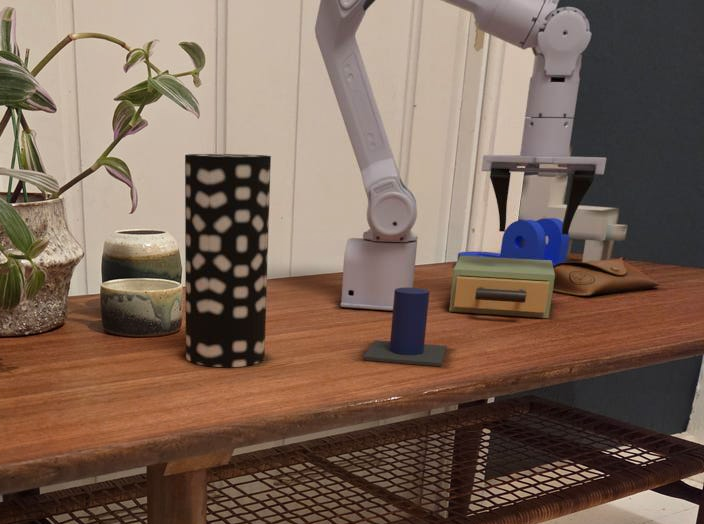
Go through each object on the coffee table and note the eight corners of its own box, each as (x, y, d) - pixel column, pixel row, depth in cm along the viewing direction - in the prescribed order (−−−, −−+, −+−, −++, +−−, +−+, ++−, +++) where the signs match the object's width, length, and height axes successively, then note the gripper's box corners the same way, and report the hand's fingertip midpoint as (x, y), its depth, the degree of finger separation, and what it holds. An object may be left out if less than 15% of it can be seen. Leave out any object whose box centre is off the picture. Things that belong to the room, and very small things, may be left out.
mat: (363, 360, 93) (363, 356, 92) (374, 343, 100) (374, 340, 100) (440, 366, 90) (441, 363, 90) (446, 349, 98) (446, 345, 97)
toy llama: (610, 272, 152) (631, 148, 144) (513, 261, 162) (528, 145, 155) (624, 267, 157) (645, 147, 150) (529, 257, 168) (545, 145, 160)
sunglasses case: (590, 294, 127) (577, 251, 128) (552, 312, 133) (539, 270, 134) (664, 285, 136) (651, 244, 137) (625, 302, 142) (613, 263, 143)
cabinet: (548, 318, 114) (555, 274, 112) (449, 311, 118) (453, 269, 115) (545, 300, 126) (551, 260, 124) (455, 294, 130) (459, 255, 127)
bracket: (563, 275, 147) (572, 219, 144) (532, 279, 143) (540, 222, 140) (477, 262, 161) (483, 210, 158) (446, 265, 156) (452, 212, 153)
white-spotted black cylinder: (175, 351, 95) (173, 153, 88) (246, 345, 98) (251, 154, 90) (200, 370, 88) (201, 157, 80) (276, 363, 91) (284, 157, 83)
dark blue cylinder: (387, 353, 94) (392, 292, 91) (391, 346, 97) (396, 286, 94) (421, 356, 93) (427, 294, 90) (425, 348, 96) (431, 288, 94)
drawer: (545, 319, 109) (550, 288, 108) (451, 312, 112) (454, 282, 111) (542, 296, 124) (546, 269, 123) (459, 291, 127) (462, 264, 126)
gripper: (487, 117, 107) (473, 232, 112) (615, 118, 103) (595, 238, 108) (488, 117, 113) (476, 227, 118) (610, 119, 109) (591, 232, 114)
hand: (533, 232), depth 114 cm, fingers open, 7 cm apart
